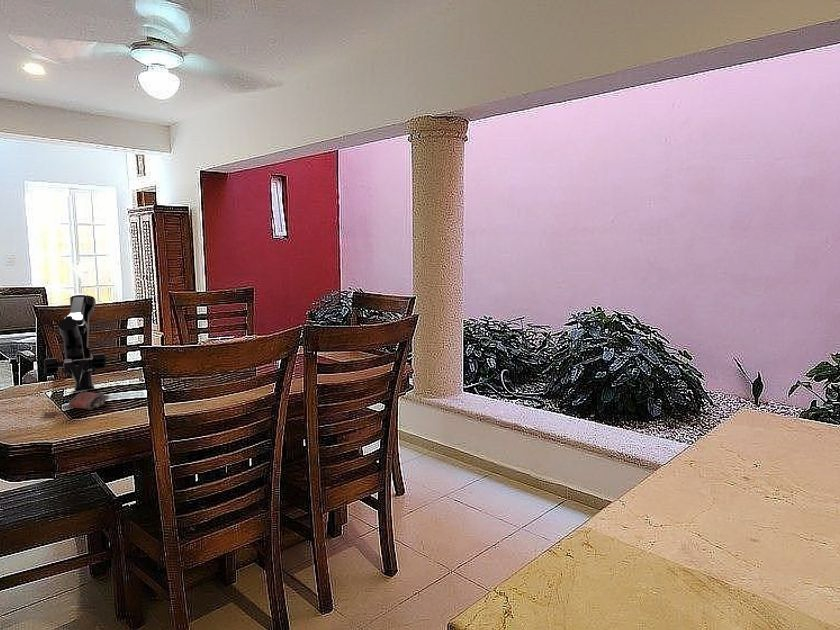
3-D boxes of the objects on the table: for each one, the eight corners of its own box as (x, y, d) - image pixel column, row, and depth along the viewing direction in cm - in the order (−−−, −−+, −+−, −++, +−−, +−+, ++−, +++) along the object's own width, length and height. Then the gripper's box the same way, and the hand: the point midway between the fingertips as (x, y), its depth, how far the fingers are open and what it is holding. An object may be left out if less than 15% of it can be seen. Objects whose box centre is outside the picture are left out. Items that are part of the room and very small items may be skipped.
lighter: (70, 410, 195) (96, 412, 193) (67, 401, 194) (94, 404, 192) (86, 397, 202) (112, 399, 201) (84, 389, 201) (109, 391, 199)
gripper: (102, 358, 217) (107, 392, 209) (43, 363, 207) (46, 399, 199) (103, 339, 210) (108, 374, 202) (42, 344, 199) (45, 381, 192)
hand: (78, 382), depth 199 cm, fingers closed
